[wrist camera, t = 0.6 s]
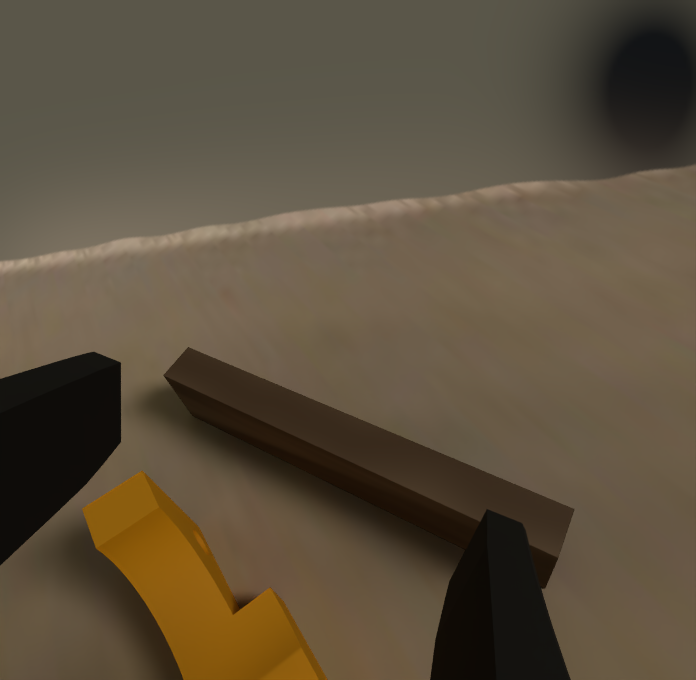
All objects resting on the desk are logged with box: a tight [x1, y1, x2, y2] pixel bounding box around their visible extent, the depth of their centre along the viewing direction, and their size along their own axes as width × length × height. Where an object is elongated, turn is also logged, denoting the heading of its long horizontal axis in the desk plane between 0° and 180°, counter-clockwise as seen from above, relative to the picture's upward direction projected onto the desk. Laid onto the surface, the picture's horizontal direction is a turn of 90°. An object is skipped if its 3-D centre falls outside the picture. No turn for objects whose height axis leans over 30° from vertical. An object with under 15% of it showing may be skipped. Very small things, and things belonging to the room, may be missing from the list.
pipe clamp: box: [82, 471, 327, 680], centre depth 21 cm, size 12×4×6 cm, turn 34°
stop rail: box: [163, 347, 574, 588], centre depth 26 cm, size 2×20×4 cm, turn 59°
